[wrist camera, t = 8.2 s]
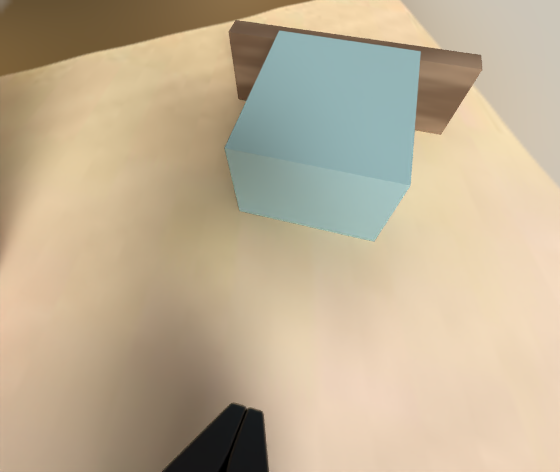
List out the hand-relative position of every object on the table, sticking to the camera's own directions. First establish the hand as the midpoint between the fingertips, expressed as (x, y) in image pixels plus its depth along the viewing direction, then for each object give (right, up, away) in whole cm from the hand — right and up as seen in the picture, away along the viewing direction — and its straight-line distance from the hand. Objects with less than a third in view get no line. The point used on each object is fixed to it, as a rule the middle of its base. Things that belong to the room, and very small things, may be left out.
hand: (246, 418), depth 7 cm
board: (+7, +18, +25) cm, 32 cm away
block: (+5, +11, +21) cm, 25 cm away
